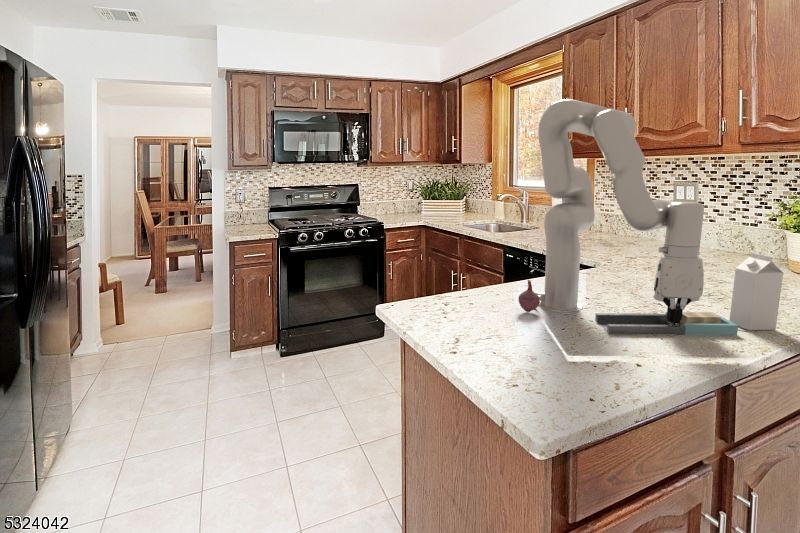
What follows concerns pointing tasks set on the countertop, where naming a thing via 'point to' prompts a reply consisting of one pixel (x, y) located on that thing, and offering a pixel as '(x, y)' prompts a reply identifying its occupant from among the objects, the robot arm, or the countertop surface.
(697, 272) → the robot arm
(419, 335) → the countertop surface
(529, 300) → the vegetable
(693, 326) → the tray
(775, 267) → the milk carton
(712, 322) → the chip
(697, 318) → the chip
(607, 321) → the rail
